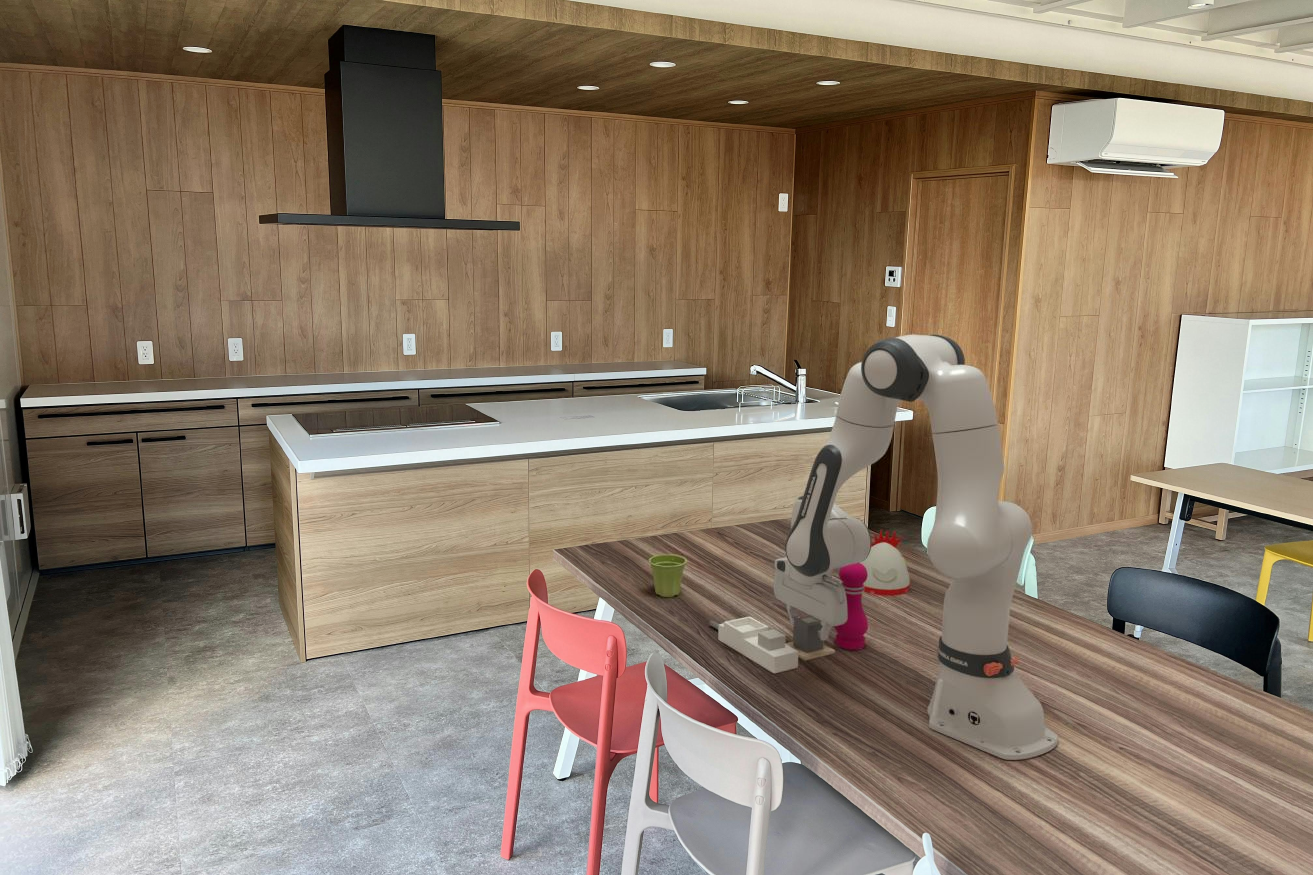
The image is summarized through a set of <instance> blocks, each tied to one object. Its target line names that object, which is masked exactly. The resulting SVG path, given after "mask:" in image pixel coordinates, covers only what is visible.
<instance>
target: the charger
mask: <svg viewBox="0 0 1313 875" xmlns="http://www.w3.org/2000/svg"><path fill="white" fill-rule="evenodd" d="M822 627H823V625H821V620H819V619H817V618H815V617H813V616H811V615H807V616H806V615H805V616H802V617H801V618H797V619H794V625H793V638H792V642H793V646H794V647H796V648H798V649H800V650H802V651H803V652H805V653H810V652H814V651H818V650H822V649H823V644H824V641H825V640H824V641H822V640H821V639H819V638H818V637H817V636H818V634H817V633H818V631H819V630H821V629H822ZM824 645H825V644H824Z"/></svg>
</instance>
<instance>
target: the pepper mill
mask: <svg viewBox="0 0 1313 875" xmlns="http://www.w3.org/2000/svg"><path fill="white" fill-rule="evenodd" d="M867 576H868V574H867V569H866V568H865V566H864V565H863V564H861V563H856V564H853V565H848V566H845V567H842V568H839V571H838V577H839V579H840V582H841V585H842V586H843V588H844V589H845V593H846V599H847V621H846V622H845V623H844V624H842V625H838V626H833V628H834V630H835V631H836V632H837V633H836V634H835V640H834V641H835V645H836V646H837V647H839V648H840V649H843V650H851V651H854V650H855V651H856V650H861V649H863V648H864V647H866V646H865V645H866V637H865V636H864V635H865V634H866V633H867V632H868V630H869V622H868V619H867V615H866V613H865V611H864V609H863V604H862V596H863V594H864V593H865V592H864V587H865V586H864V584H863V583H864V582H865V581H866V580H867Z"/></svg>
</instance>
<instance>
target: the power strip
mask: <svg viewBox="0 0 1313 875" xmlns="http://www.w3.org/2000/svg"><path fill="white" fill-rule="evenodd" d="M709 626H711V627H712V628H714V629H716V630H718V631H717V632H718V635H717V636H718V638H717V639H718V641H719V642H721V643H723V644H725V645H726V646H728V647H730V648H731V649H733V650H735V651H737V652H738V653H739V654H741V655H743V656H744V657H746V658H748V659H750V660H751V661H753V662H754V663H756V664H758V665H759V666H761V667H763V668H764V669H765V670H767V671H769V672H771V673H772V674H779V673H782V672H786V671H790V670H793V669H797V668H798V667H799V657H798V651H797V650H795V649H793V648H792V647H790V646H788V645H786V644H785V643H786V634H784V633H781V632H780V631H778V630H777V629H774V628H772V629H770V627H769V625H766V624H765V623H763V622H761V621H759V620H758V619H755V618H754V617H752V616H745V617H741V618H735V619H730V620H725V621H723V623H718V622H716V621H714V620H710V621H709Z"/></svg>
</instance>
